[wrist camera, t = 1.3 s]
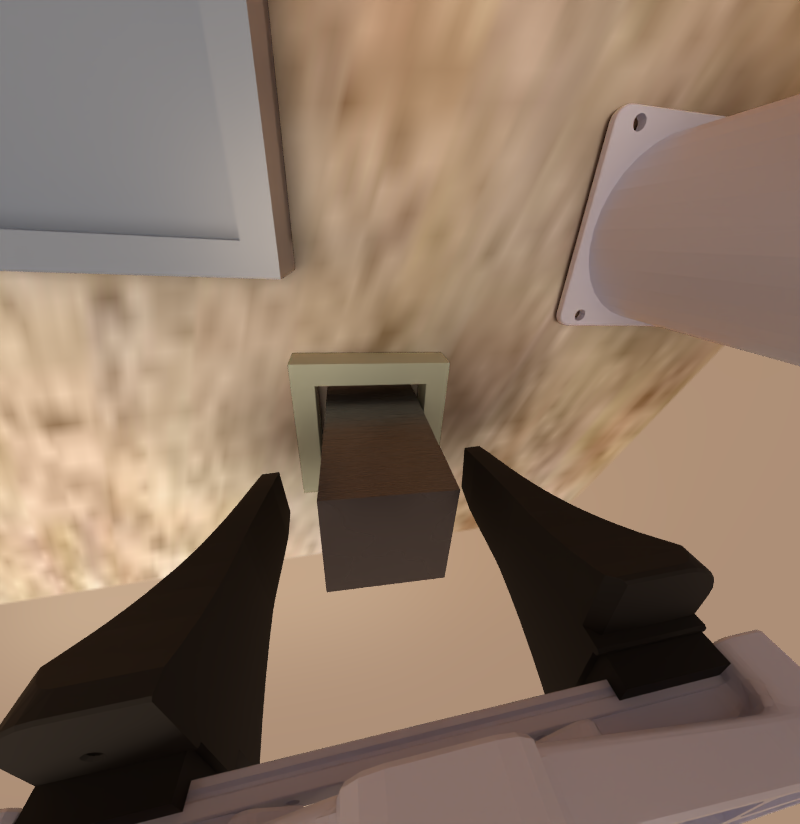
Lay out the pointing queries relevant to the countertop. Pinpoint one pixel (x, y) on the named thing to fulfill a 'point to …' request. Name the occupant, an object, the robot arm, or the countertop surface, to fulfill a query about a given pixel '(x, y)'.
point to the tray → (141, 139)
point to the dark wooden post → (382, 490)
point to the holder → (359, 371)
